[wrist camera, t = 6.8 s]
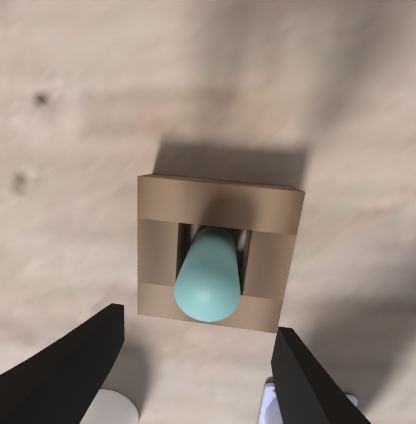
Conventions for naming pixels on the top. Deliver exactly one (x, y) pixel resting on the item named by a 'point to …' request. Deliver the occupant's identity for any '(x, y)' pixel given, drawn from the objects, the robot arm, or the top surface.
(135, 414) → the pill bottle
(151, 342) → the top surface
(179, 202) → the socket block
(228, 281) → the dowel
